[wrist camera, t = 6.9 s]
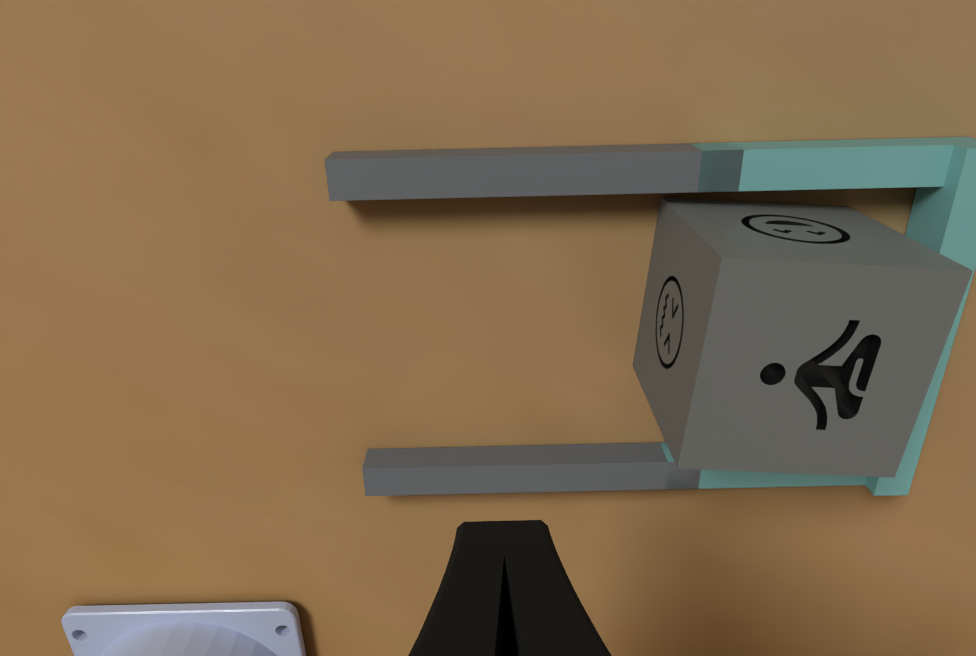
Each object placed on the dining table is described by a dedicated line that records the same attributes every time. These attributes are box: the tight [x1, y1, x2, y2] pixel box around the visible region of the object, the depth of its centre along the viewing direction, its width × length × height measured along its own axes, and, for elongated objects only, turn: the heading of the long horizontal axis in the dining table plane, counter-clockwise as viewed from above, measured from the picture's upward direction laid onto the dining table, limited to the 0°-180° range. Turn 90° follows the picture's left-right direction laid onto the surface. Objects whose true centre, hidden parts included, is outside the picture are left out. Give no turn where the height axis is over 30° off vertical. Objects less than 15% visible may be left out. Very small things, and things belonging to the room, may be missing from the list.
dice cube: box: [633, 196, 973, 478], centre depth 16 cm, size 5×5×5 cm
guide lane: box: [325, 137, 976, 496], centre depth 18 cm, size 10×16×2 cm, turn 91°
